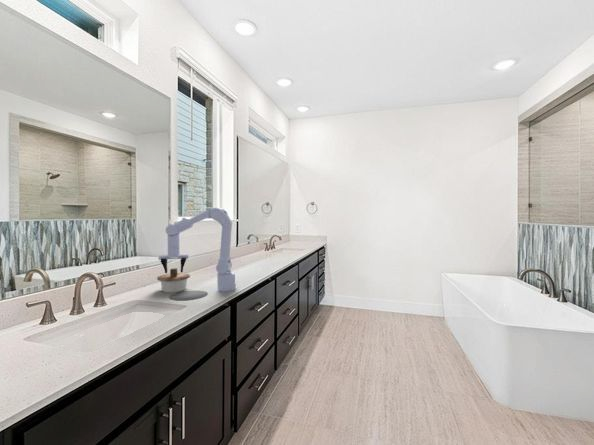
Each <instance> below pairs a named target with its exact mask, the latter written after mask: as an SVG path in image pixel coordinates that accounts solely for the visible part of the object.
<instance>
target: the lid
mask: <svg viewBox="0 0 594 445" xmlns="http://www.w3.org/2000/svg"><path fill="white" fill-rule="evenodd" d="M189 278H191V274H189V273H184V272H180V273H179V272H178V268H177V267H176V268H175V267H174V268H170V272H169V273H168V274H167V273H165V274H162V275H159V276H157V278H156V279H157V281H159V282H161V281H178V280H184V279H187V280H188V279H189Z"/></svg>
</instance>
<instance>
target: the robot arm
mask: <svg viewBox="0 0 594 445" xmlns="http://www.w3.org/2000/svg"><path fill="white" fill-rule="evenodd" d="M205 219H206V220H207V219H212V220H214V221H216V222H218V224H220V226H221V238H220V250H219V251H220V252H219V253H220V254H219V258H218V261H217V262H218V263H217V264H216V267H215V269H216V272H217V274H216V275H217V276H216V277H217V278H216V279H217V280H216V281H217V287H216V292H229V291H231V292H232V291H236V285H237V284H236V273H235V272H232V271H231V269H232V267H233V263H232V261H231V255H230V254H231V241H232V226H233V222H232V220H231V218H230V216H229V213H228V211H226V210H225V209H224V208H222V207H213V208H211V209H207V210H205V211H202V212H201V213H199V214H196V215H195V216H193V217H191V218H190V217H182V219H181V220H179V221H174V223H173V224H171V223H170V224H168V225H166V227H165V233H166V234H167V254H166V255H164V254H163V255H158V260H159V261H160V263H161V265H162V267H163V270H164V273H165V274H167V273H168V260H177V259H178V260H180V273H184V266H185V264H186V261H187V260H188V259H189V258H190V257H189V254H180V234H181V233H182V232H185V231H188V230H189V229H192V228H193V226H194V224H196V223H198V222H201V221H204V220H205Z"/></svg>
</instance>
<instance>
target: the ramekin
mask: <svg viewBox="0 0 594 445" xmlns="http://www.w3.org/2000/svg"><path fill="white" fill-rule="evenodd" d="M187 281H188V278H187V279H184V280H178V281H160V283H161V290H162V292H164V293H179V292H183V291H186V288H187V283H188V282H187Z"/></svg>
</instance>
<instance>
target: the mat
mask: <svg viewBox="0 0 594 445" xmlns="http://www.w3.org/2000/svg"><path fill="white" fill-rule="evenodd" d="M208 295H209V293H208V291H205V290H183V291H178V292H174V293H173V294H171V295H169V296H168V299H169V300H172V301H176V302H177V301H178V302H186V301H195V300H200V299H203V298H205V297H207V296H208Z"/></svg>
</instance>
